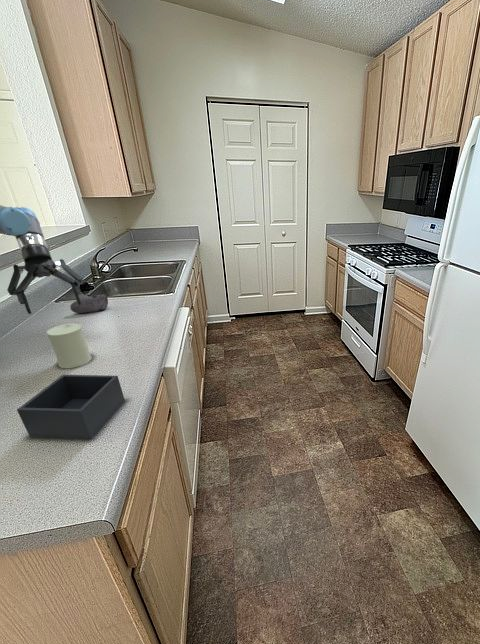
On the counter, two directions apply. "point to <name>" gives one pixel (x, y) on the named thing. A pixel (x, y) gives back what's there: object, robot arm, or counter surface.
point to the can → (69, 345)
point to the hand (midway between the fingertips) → (55, 307)
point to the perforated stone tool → (90, 304)
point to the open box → (72, 407)
